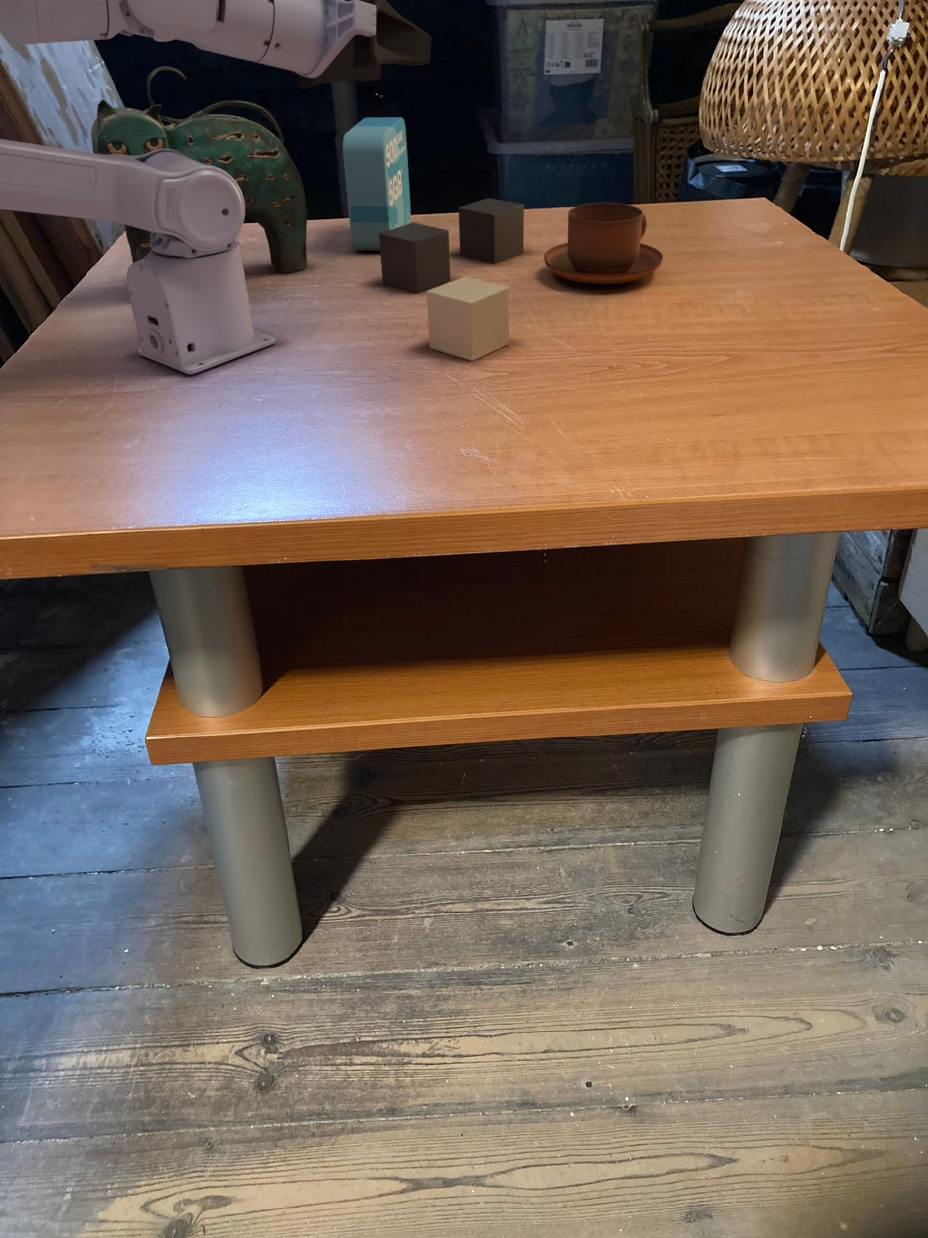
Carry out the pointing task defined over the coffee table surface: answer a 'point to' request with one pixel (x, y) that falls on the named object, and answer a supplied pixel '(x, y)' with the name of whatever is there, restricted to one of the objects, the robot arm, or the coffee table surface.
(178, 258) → the robot arm
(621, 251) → the cup and saucer
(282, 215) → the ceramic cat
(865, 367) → the coffee table surface
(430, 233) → the middle block
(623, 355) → the coffee table surface
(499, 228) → the far block
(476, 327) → the cream block
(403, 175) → the data package
